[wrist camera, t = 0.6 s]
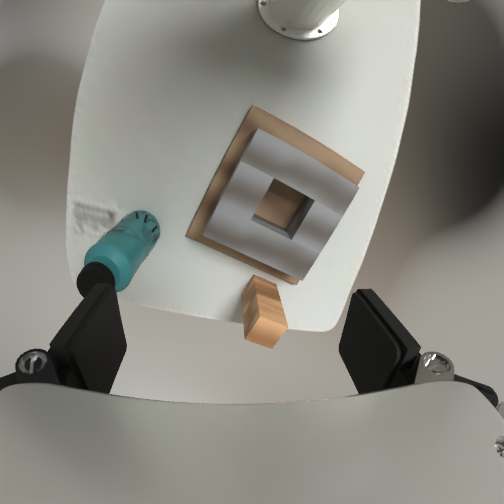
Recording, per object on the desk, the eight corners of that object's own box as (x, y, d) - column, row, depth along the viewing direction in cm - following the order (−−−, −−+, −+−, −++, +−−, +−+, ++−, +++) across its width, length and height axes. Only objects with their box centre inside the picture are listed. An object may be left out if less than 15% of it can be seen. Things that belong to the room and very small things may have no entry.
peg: (253, 274, 48) (259, 316, 37) (276, 284, 49) (288, 326, 38) (241, 294, 49) (244, 339, 38) (263, 303, 50) (272, 348, 39)
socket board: (252, 106, 37) (255, 101, 32) (362, 171, 42) (379, 177, 37) (187, 233, 44) (181, 247, 39) (295, 282, 49) (302, 300, 44)
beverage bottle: (171, 233, 44) (133, 301, 26) (139, 251, 45) (91, 323, 27) (149, 198, 42) (93, 247, 23) (118, 219, 43) (55, 276, 24)
